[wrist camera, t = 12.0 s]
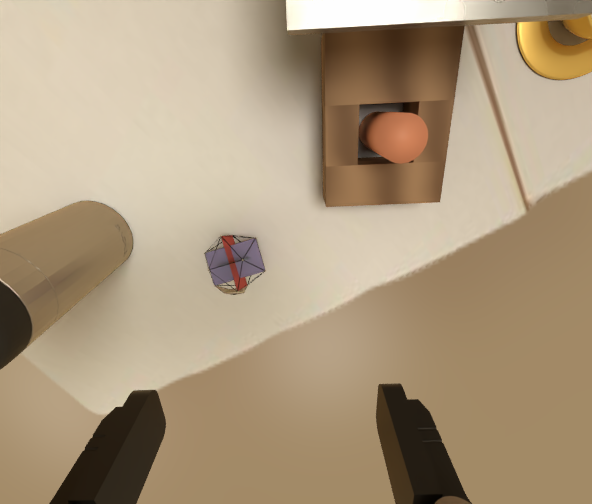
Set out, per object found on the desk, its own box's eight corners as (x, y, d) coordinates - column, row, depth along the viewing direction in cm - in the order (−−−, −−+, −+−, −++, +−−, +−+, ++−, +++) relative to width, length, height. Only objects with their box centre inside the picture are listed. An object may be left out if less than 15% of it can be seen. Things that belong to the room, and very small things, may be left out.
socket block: (322, 195, 39) (326, 206, 34) (321, 38, 32) (324, 27, 28) (423, 190, 39) (439, 202, 34) (441, 32, 32) (465, 19, 28)
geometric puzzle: (193, 228, 39) (194, 288, 35) (246, 211, 38) (253, 271, 34) (220, 254, 45) (224, 308, 41) (266, 240, 44) (275, 294, 40)
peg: (358, 150, 37) (378, 164, 28) (359, 112, 35) (381, 113, 26) (393, 148, 37) (425, 162, 28) (396, 110, 35) (430, 111, 26)
